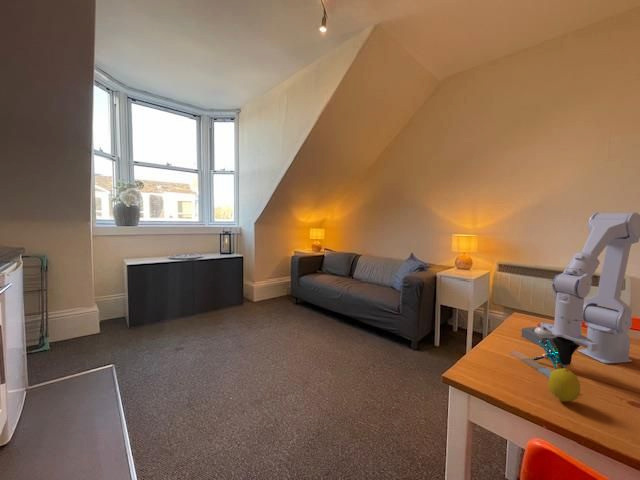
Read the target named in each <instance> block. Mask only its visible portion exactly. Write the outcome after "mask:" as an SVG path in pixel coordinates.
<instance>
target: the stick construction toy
mask: <svg viewBox="0 0 640 480" xmlns="http://www.w3.org/2000/svg"><path fill="white" fill-rule="evenodd" d="M542 342H543V341H540V344H541V345H542V347H541V348H543V350H544V351H545V353H542V355H539V356H536V357H532V358H531V357H530V358H531V359H533V360H534V361H539V360H542V359H545V360H548V359H549V360H550V362H551V363H552V366H553V367H554V368H555V369H554V370H556V369H563V368H566V365H563V364H562V363H561V361H560V359H559V352H558V349H557V347H554V346H552V345H551V344H550V342H549V340H546V341H545V342H548V344H549V346H548V345H543V344H542ZM546 346H547V347H546ZM559 364H561V367H557V365H559ZM566 369H567V368H566Z"/></svg>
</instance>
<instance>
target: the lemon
mask: <svg viewBox="0 0 640 480" xmlns="http://www.w3.org/2000/svg"><path fill="white" fill-rule="evenodd" d="M551 371H552V372H551V374H550V376H549V378H548V388H549V390H550V392H551V393H552V395H554V396H555V397H556V398H557V399H559V400H560V401H561V402H563V403H564V402H573V401H576V400H577V399H578V397H579V396H580V393H581V385H580V381H579V379H578V377H577V376H576V375H575V373H573V372H572V371H570V370H569V369H567V368H563V369H562V368H560V369H554V370H551Z"/></svg>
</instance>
